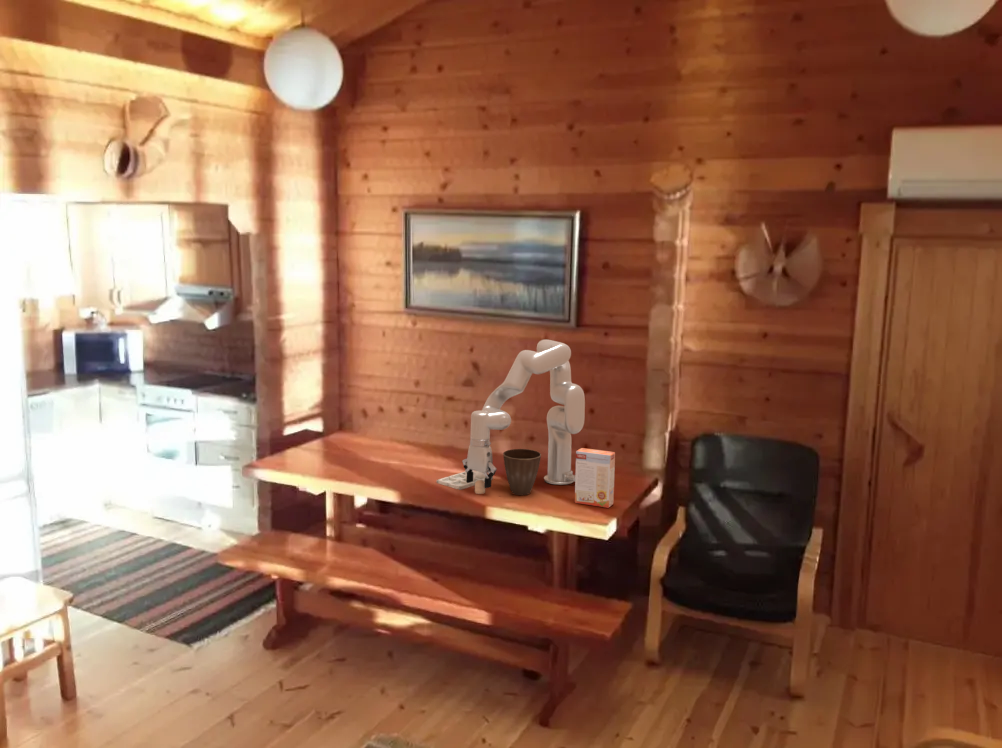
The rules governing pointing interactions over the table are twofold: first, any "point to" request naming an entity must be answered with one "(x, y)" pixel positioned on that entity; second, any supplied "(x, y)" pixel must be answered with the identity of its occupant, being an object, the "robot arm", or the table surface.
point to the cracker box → (594, 477)
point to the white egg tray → (458, 481)
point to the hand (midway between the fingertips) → (478, 484)
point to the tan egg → (479, 487)
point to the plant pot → (521, 469)
